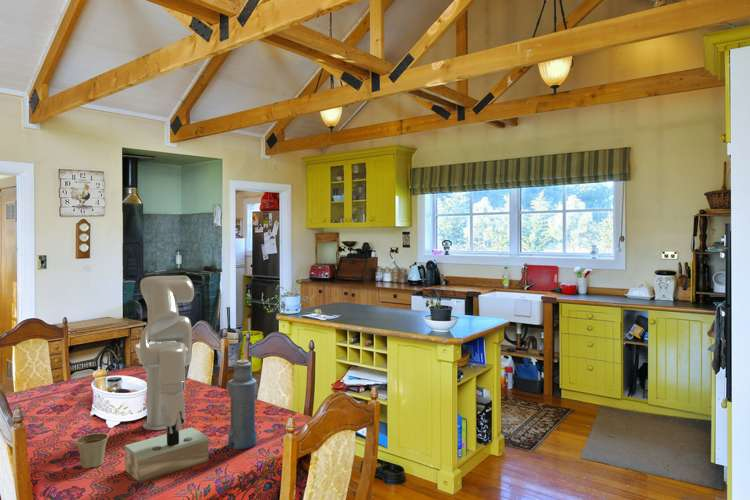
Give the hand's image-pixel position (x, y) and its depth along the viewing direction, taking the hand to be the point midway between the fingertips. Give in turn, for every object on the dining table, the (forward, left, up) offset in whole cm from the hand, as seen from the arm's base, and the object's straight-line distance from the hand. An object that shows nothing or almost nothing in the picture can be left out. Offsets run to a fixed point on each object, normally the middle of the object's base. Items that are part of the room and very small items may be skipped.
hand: (173, 444), depth 162 cm
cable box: (-4, 0, -8) cm, 9 cm away
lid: (-4, 0, -1) cm, 4 cm away
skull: (-90, +30, -8) cm, 95 cm away
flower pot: (-22, -17, -8) cm, 29 cm away
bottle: (-2, +26, -8) cm, 28 cm away
